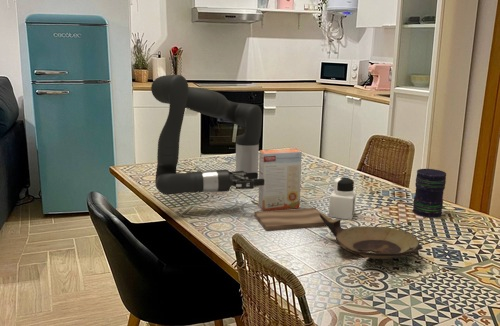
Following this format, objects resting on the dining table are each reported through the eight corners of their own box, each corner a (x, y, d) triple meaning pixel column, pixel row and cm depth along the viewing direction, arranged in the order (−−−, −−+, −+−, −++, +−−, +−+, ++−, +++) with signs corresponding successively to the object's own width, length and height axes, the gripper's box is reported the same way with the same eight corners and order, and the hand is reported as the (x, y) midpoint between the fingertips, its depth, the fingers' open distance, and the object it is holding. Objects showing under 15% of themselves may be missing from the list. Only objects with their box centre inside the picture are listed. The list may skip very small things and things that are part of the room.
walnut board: (254, 216, 170) (254, 211, 169) (314, 211, 175) (314, 207, 175) (266, 230, 157) (266, 226, 156) (331, 225, 162) (331, 221, 162)
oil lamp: (378, 280, 126) (380, 251, 125) (306, 239, 151) (308, 215, 150) (437, 262, 138) (441, 236, 136) (362, 227, 163) (364, 204, 161)
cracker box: (294, 203, 184) (296, 147, 179) (299, 208, 178) (302, 151, 173) (257, 206, 180) (259, 149, 175) (262, 211, 175) (264, 153, 170)
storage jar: (420, 206, 184) (425, 167, 180) (446, 213, 177) (451, 172, 174) (407, 212, 177) (411, 171, 174) (433, 219, 170) (438, 177, 167)
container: (354, 213, 175) (357, 177, 172) (351, 220, 168) (354, 183, 165) (332, 210, 178) (334, 174, 175) (328, 217, 171) (330, 180, 167)
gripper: (219, 175, 163) (267, 173, 167) (211, 165, 176) (255, 163, 181) (219, 197, 165) (266, 194, 169) (211, 185, 178) (255, 183, 182)
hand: (260, 178), depth 175 cm, fingers open, 8 cm apart
